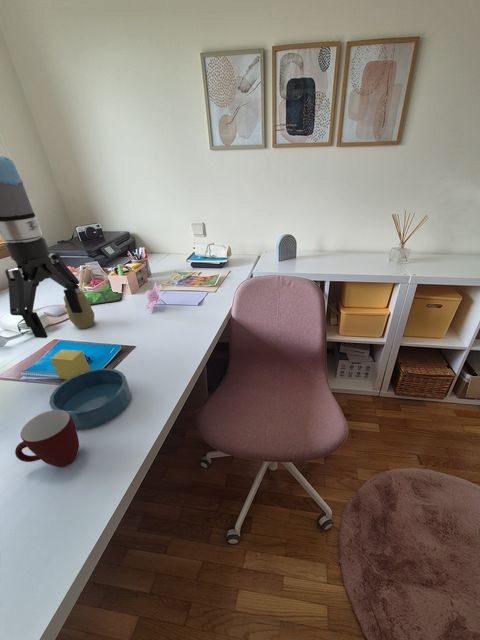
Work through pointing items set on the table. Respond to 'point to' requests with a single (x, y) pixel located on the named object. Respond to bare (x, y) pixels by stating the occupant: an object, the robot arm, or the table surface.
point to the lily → (153, 297)
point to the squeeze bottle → (82, 318)
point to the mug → (50, 439)
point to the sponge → (69, 363)
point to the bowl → (92, 397)
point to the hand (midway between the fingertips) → (60, 323)
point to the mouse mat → (102, 296)
